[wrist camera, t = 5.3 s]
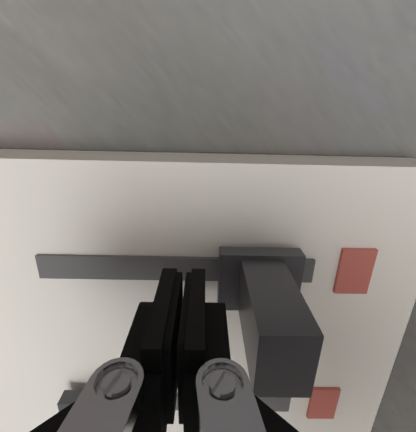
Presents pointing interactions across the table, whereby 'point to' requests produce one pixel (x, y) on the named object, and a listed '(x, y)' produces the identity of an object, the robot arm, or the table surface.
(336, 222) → the breaker panel
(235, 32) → the table surface
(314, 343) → the breaker
